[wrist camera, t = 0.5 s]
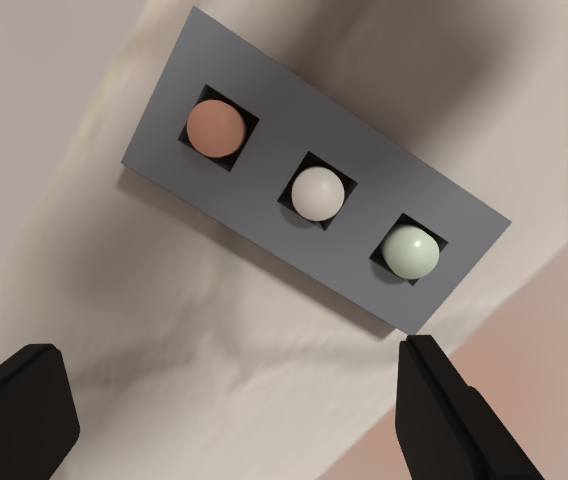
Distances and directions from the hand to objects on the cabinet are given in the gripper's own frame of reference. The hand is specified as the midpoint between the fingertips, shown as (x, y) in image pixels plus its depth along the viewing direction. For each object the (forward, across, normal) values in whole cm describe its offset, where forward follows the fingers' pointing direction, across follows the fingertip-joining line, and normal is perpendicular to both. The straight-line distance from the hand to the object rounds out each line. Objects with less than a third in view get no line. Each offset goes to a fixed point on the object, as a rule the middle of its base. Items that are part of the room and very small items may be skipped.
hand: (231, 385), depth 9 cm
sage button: (+24, -12, +4) cm, 27 cm away
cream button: (+24, -4, -2) cm, 24 cm away
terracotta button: (+24, +4, -8) cm, 25 cm away
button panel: (+25, -4, -2) cm, 26 cm away
